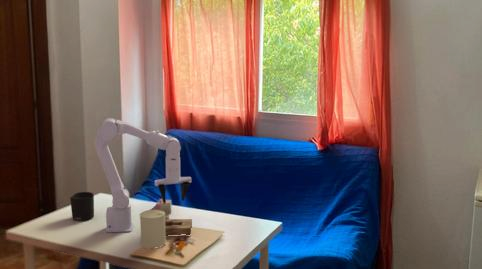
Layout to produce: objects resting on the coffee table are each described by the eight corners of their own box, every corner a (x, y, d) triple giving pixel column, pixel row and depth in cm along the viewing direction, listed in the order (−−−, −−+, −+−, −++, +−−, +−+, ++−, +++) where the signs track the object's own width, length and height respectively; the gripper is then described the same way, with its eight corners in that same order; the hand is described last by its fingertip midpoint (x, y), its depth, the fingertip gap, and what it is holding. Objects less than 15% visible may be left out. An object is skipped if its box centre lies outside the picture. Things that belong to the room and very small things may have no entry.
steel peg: (161, 225, 204) (160, 202, 202) (162, 222, 208) (161, 199, 206) (171, 225, 204) (170, 202, 202) (172, 221, 208) (171, 199, 206)
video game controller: (156, 219, 216) (163, 205, 214) (147, 213, 216) (154, 200, 215) (164, 211, 226) (171, 198, 224) (155, 206, 226) (162, 193, 224)
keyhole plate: (153, 236, 192) (153, 228, 192) (156, 227, 202) (156, 219, 201) (190, 236, 193) (190, 228, 192) (192, 226, 202) (191, 219, 202)
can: (162, 249, 181) (161, 217, 178) (137, 248, 182) (136, 216, 180) (169, 239, 190) (168, 208, 187) (145, 238, 191) (144, 207, 189)
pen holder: (68, 217, 213) (66, 194, 212) (89, 212, 219) (87, 190, 218) (77, 223, 206) (75, 200, 204) (98, 218, 212) (97, 195, 210)
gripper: (157, 172, 194) (158, 206, 196) (193, 169, 199) (193, 202, 202) (153, 168, 200) (154, 201, 203) (188, 165, 206) (188, 197, 208)
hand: (173, 201), depth 203 cm, fingers open, 7 cm apart
